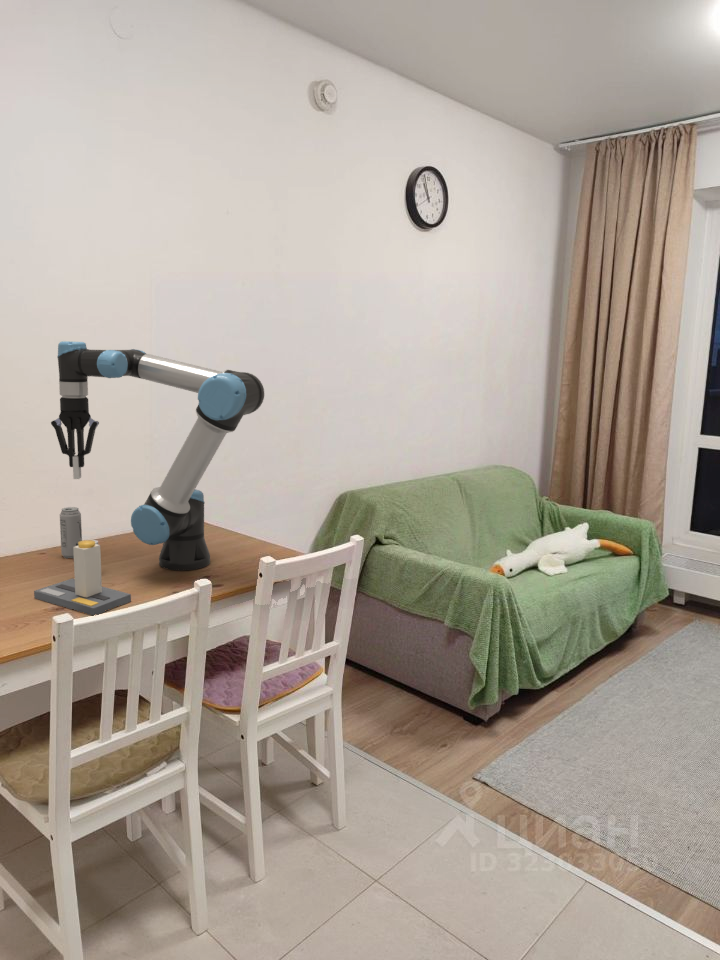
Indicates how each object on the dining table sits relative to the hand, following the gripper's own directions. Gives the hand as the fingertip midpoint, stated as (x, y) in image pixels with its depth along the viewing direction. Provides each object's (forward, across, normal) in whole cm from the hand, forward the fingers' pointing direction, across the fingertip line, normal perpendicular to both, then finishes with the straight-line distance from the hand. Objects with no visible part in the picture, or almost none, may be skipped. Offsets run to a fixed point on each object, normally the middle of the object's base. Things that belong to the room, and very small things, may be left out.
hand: (77, 478), depth 210 cm
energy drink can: (+27, +5, -9) cm, 29 cm away
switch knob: (+24, -10, +30) cm, 40 cm away
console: (+26, -8, +29) cm, 40 cm away
